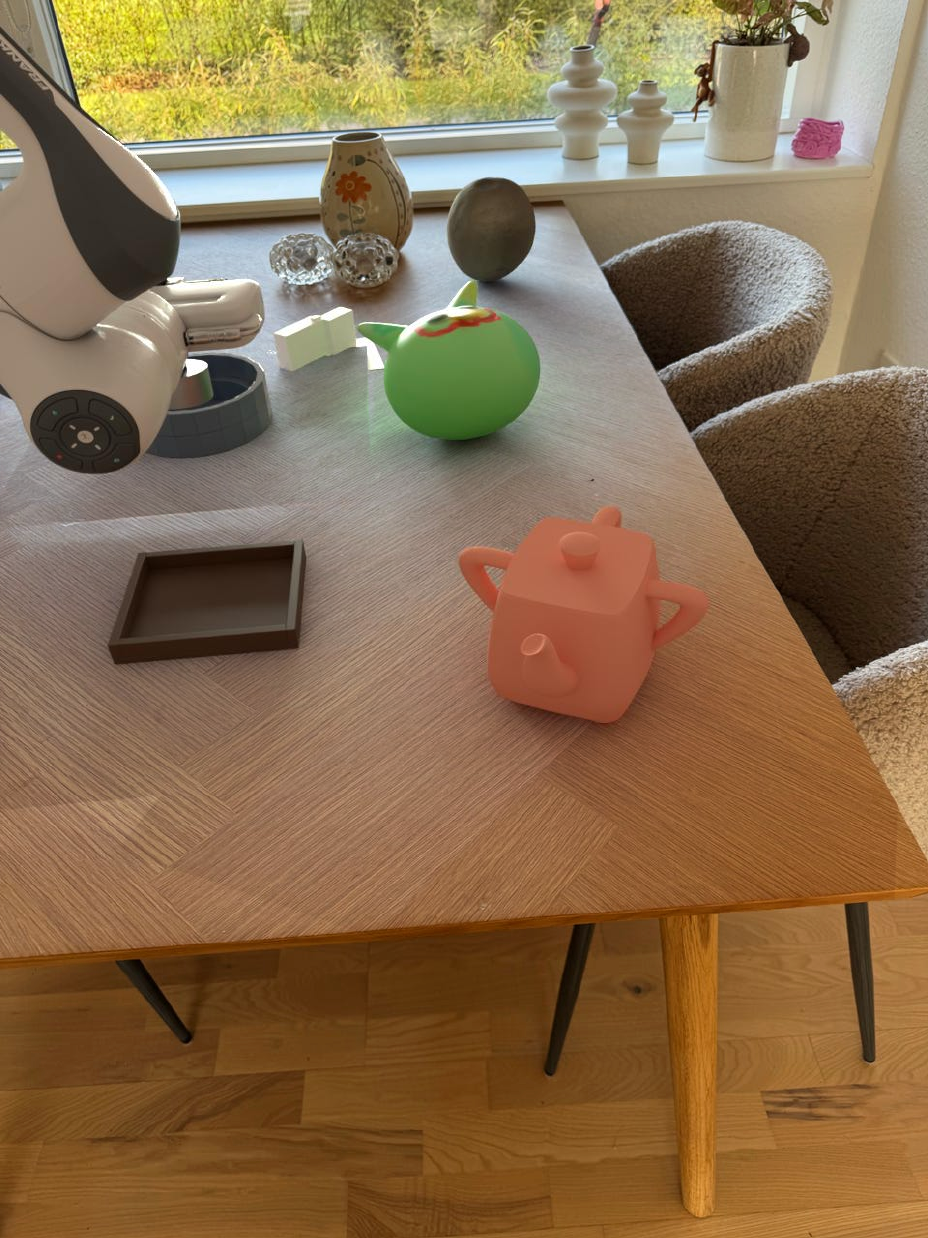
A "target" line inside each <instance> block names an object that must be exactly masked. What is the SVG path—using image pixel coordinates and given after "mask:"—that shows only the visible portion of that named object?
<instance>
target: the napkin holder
mask: <svg viewBox="0 0 928 1238" xmlns="http://www.w3.org/2000/svg"><path fill="white" fill-rule="evenodd" d="M354 318H355V317H354V310H353V309H351V308H347V307H344V306H338V307H336V308H333V309H332V310H329V311H327V312H325V313H323V314H321V315H318V314H315V315H309V316H307V317H304V318H302V319H301V320H297V321H296V322H294V323H291V324H290V325H287V326H285V327H283V328H280V329H278V330H277V331H275V332H273V338H274V344H275V350H277V353H276V352H274V351H273V352H274V353H272V352H270V353H268V352H267V351H266V354H276V355H277V361H278V367H279V368H280V369H282V370H286V371H288V372H294V371H297V370H298V369H301V368H302V367H304V366H306V365H309V364H310V363H312V362H314V361H316V360H319V359H320V358H322V357H323V356H326V357H331V356H336V355H337V354H339V353H341V352H343V351H345V350H347V349H349V348H358V347H366V348H367V349H366V351H367V354H366V355H367V371H373V370H374V371H375V370H381V369H384V366H385V364H384V363H383V360H382V358H381V356H380V353H379V351H378V349H377V347H376V344H375V343H373V342H372V341H370V340H369V339H367V338H366V337H360V338H357V334H356V327H355V319H354Z"/></svg>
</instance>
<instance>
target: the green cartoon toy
mask: <svg viewBox="0 0 928 1238" xmlns="http://www.w3.org/2000/svg"><path fill="white" fill-rule="evenodd" d="M478 287H479V286H478V283H477V280H469V281H467V282H466V283H465V284H464V285H463V287H461V289H460V290H459V291H458V292H457V294H456V295H455V297H454V298H453V299H452V301H451V302H450V303H449V305H448V306H447V307H446V308H445V309H442V310H438V311H436V312H432V313H430V314H428V315H425V316H424V317H421V318H419V319H418V320H416V321H415V322H413V323H412V324H410V325H403V324H402V325H401V324H393V323H385V322H374V321H373V322H371V321H370V322H361V323H359V324H358V325H357V327H356V330H357V332H358V333H359V334H360V335H361V336H363V338H367V339H369V340H370V341H372V342H373V343H374V344H375V345H377V346H378V347H380V348H382V349H383V350H385V351H386V352H387V355H386V357H385V361H384V368H383V378H382V379H383V386H384V392H385V395H386V398H387V401H388V402H389V405H390V407H392V410H393V411H394V413H395V414H396V415H397V417H398V418H399V419H400V420H401V421H402V422H403V423H404V424H405V425H407V427H408V428H411V429H412V430H414V431H415V432H417V433H419V434H421V435H424V436H426V437H429V438H433V439H437V440H444V441H445V440H446V441H460V440H461V441H463V440H473V439H476V438H481V437H484V436H487V435H490V434H493V433H495V432H497V431H499V430H501V429H503V428H505V427H507V426H508V425H510V424H511V423H512V422H514V421H515V420H516V419H517V418H518V417H520V416H521V415H522V414H523V413H524V412H525V411H526V409H527V408H528V407H529V405H530V404H531V402H533V399H534V397H535V395H536V393H537V390H538V387H539V383H540V379H541V360H540V359H541V358H540V355H539V352H538V348H537V346H536V344H535V341H534V340H533V338H532V337H531V335H530V333H529V332H528V331H527V330H526V328H525V327H524V326H523V325H522V324H521V323H520V322H518V321H517V320H516V319H515V318H513V317H512V316H510V315H508V314H506V313H504V312H501V311H499V310H497V309H494V308H493V309H492V308H488V307H483V306H482V307H481V306H477V302H478V289H479V288H478Z"/></svg>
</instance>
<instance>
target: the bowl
mask: <svg viewBox="0 0 928 1238" xmlns="http://www.w3.org/2000/svg"><path fill="white" fill-rule="evenodd" d="M187 359H191V360H199V361H203V362H205V363H206V364H207V366H208V371H209V376H210V380H211V385H212V390H213V397H212V398H211V399H210V400H209V401H207V402H206V403H203V404H201V405H198V406H195V407H191V408H186V409H179V410H168V413H167V415H166V418H165V420H164V422H163V425H162V426H161V428H160V430H159V432H158V434H157V436H156V437H155V439H154V441H153V442H152V444H151V445H150V447H149V448H148V449H147V450H146V452H145V453H148V454H151V455H154V456H157V457H161V458H163V457H164V458H175V459H187V458H201V457H207V456H211V455H215V454H220V453H225V452H228V451H230V450H234V449H235V448H238V447H241V446H243V445H246V444H248V443H250V442H251V441H252V440H254V439H256V438H257V437H259V436H260V435H262V433H264V431H265V430H266V429H267V428H268V427H269V426H270V425H271V423H272V422H271V421H272V416H273V411H272V405H271V401H270V396H269V390H268V385H267V379H266V374H265V371H264V369H263V368H262V365H261V364H260V363H259V362H257V361H255V360H253V359H251V358H250V357H248V356H244V355H239V354H235V353H229V352H227V353H226V352H200V353H199V352H198V353H191V354H190V353H188V357H187Z"/></svg>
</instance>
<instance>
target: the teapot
mask: <svg viewBox="0 0 928 1238" xmlns="http://www.w3.org/2000/svg"><path fill="white" fill-rule="evenodd" d="M622 515H623V514H622V511H621V510H620V509H619V508H618V507H616V506H614V505H605V506H603V507H601V508H600V509H599V510H598V511H597V512H596V514H595V515H594V517H593V519H592V521H591V522H588V521H581V520H576V519H569V518H560V517H552V516H547V517H544V518H543V519H541V520H540V521H538V522H537V523H536V524H535V525H534V526H533V527H532V528H531V529H530V531H529V532H528V534H527V535H526V536H525V538H524V539H523V540H522V541H521V543H520V545H519V546H518V548H517V549H516V551H515V553H513V552H511V551H510V552H509V551H505V550H504V549H503V550H502V549H498V548H493V547H488V546H481V545H480V546H478V545H476V546H469V547H466V548H465V549H463V550H461V552H460V553H459V556H458V561H457V562H458V563H457V564H458V568H459V570H460V572H461V574H462V576H463V578H464V580H465V582H466V583H467V584H468V586H469V587H470V589H471V590H472V591H473V592H474V593H475V594H476V596H477V597H478V598H479V599H480V600H481V601H482V602H483V603H484V605H485V606H486V607H487V608H488V609H489V610H490V611H491V612H492V618H491V622H490V626H489V633H488V640H487V655H486V668H487V669H486V671H487V672H486V674H487V677H488V680H489V683H490V685H491V687H492V688H493V690H494V693H495V694H496V695H497V696H499V697H500V698H503V699H504V700H505V699H506V700H508V701H512V702H514V703H515V704H519V705H525V706H528V707H529V706H530V707H531V708H537V709H541V710H545V711H548V712H552V713H557V714H560V715H561V714H562V715H565V716H571V717H575V718H580V719H584V720H589V721H593V722H595V723H598V724H609V723H613V722H616V721H617V720H619V719H620V718H621V717H622V716H623V715H624V714H625V713H626V711H627V709H628V708H629V707H630V705H631V704H632V702H633V701H634V699H635V697H636V695H637V693H638V692H639V690H640V688H641V686H642V685H643V684H644V683H643V682H644V681H645V679H646V677H647V675H648V672H649V671H650V668H651V666H652V663H653V660H654V657H655V654H656V650H658V649H659V648H661V647H663V646H666V645H667V644H669V643H670V642H671V643H672V641H674V640H676V639H678V638H679V637H681V636H683V635H684V634H686V633H688V632H690V631H691V630H692V629H694V628H695V627H696V626H697V625H698V624H699V623H701V621H702V620H703V619H704V617H705V616H706V614H707V611H708V609H709V606H710V604H709V601H710V600H709V598H708V596H707V594H706V593H704V591H702V590H701V589H699V588H697V587H695V586H692V585H688V584H685V583H680V582H674V581H669V580H661V578H660V577H661V576H660V569H659V564H658V558H657V550H656V545H655V542H654V541H655V540H654V539H653V536H651V535H649V534H648V533H645V532H640V531H635V530H631V529H627V528H622V521H623V519H622ZM485 567H491V568H496V569H500V570H503V571H504V570H505V572H504V574H503V577H502V580H501V581H500V582H501V583H500V586H499V589H498V588H497V586H495V584H494V582H493V581H492V579H491V578H490V576H489V574H488V572H487V569H486V568H485ZM662 601H666V602H671V603H674V604H677V605H678V606H679V609H678V610H677V612H676V613H675V614H674V615H673V616H672V617H671V618H670V619H669V620H668V621H667V622H666V623H664V624H663V625H662V626H661V627H660V623H661V622H660V621H661V605H662Z"/></svg>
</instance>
